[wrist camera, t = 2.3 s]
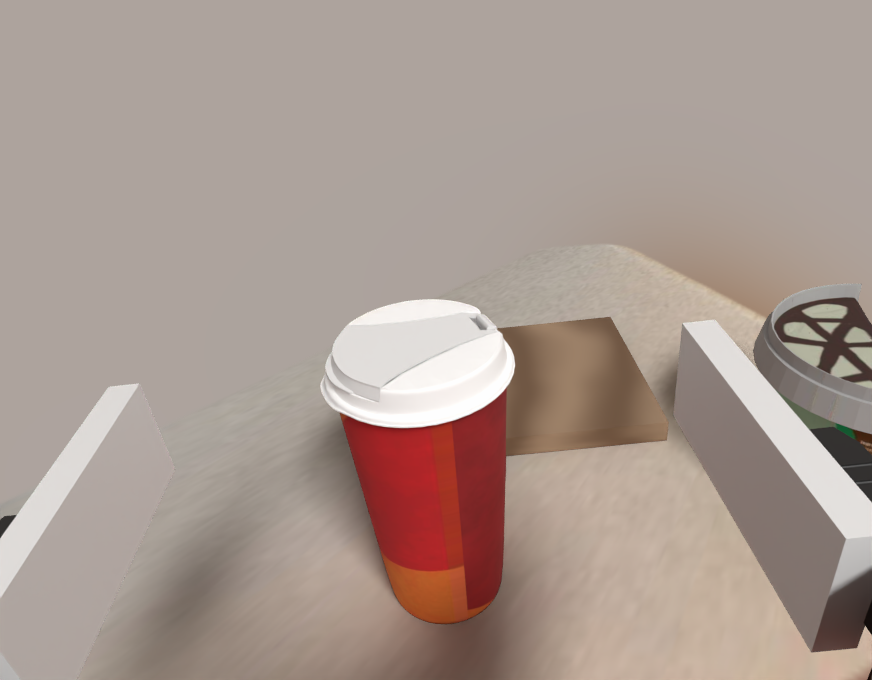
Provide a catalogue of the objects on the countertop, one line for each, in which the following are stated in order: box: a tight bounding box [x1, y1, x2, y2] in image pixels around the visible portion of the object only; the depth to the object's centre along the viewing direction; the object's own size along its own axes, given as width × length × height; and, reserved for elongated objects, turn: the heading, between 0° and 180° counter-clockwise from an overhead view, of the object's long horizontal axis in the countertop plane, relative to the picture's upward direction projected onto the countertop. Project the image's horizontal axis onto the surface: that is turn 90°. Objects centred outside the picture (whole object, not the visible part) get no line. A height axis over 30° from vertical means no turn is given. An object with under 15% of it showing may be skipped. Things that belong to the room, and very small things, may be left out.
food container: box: [753, 284, 872, 455], centre depth 36 cm, size 12×6×10 cm, turn 165°
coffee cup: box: [320, 299, 515, 624], centre depth 31 cm, size 8×8×15 cm
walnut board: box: [497, 317, 669, 456], centre depth 48 cm, size 18×14×2 cm
